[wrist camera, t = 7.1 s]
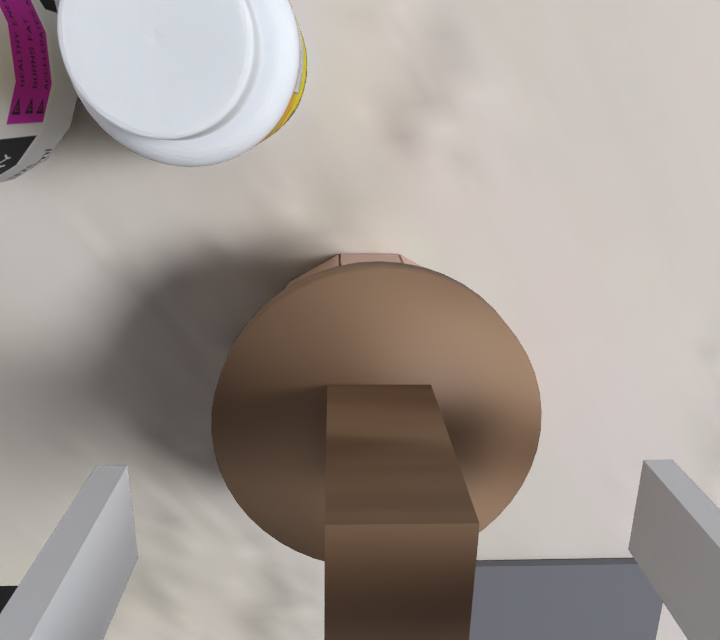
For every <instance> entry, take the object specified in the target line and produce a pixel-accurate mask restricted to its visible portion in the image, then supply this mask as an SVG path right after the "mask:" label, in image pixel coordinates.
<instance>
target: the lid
mask: <svg viewBox="0 0 720 640" xmlns="http://www.w3.org/2000/svg"><path fill="white" fill-rule="evenodd" d="M540 431H541V401H540V392H539V388H538V384H537V380H536V376H535V372H534V370H533V368H532V365H531V363H530V360H529V358H528V355H527V354H526V352H525V350H524V349H523V347H522V345H521V344H520V342H519V340H518V339H517V337H516V336H515V334H514V333H513V332H512V331H511V329H510V328H509V327H508V325H507V324H506V323H505V322H504V321H503V319H502V318H501V317H500V316H499V314H498V313H497V312H496V311H495V310H494V309H493V308H492V307H491V306H490V305H489V304H488V303H487V302H486V301H485V300H484V299H483V298H482V297H480V296H479V295H478V294H476V293H475V292H474V291H472V290H471V289H469V288H468V287H466V286H465V285H463V284H462V283H460V282H458V281H456V280H454V279H452V278H450V277H448V276H446V275H444V274H441V273H439V272H436V271H433V270H430V269H427V268H424V267H420V266H415V265H410V264H405V263H398V262H384V261H374V262H357V263H352V264H346V265H341V266H336V267H333V268H330V269H327V270H323V271H320V272H317V273H314V274H312V275H310V276H308V277H306V278H304V279H302V280H300V281H297V282H295V283H294V284H292V285H291V286H289V287H288V288H286V289H284V290H283V291H281V292H280V293H278V294H277V295H276V296H274V297H273V298H272V299H271V300H270V301H269V302H267V303H266V304H265V305H264V306H263V307H261V308H260V310H259V311H258V312H257V313H256V314H255V315H254V316H253V317H252V318H251V320H250V321H249V322H248V323H247V324H246V326H245V327H244V329H243V330H242V332H241V333H240V335H239V336H238V338H237V339H236V341H235V343H234V345H233V347H232V349H231V351H230V353H229V355H228V357H227V360H226V362H225V365H224V367H223V369H222V372H221V375H220V378H219V381H218V384H217V387H216V391H215V395H214V401H213V408H212V439H213V446H214V452H215V456H216V459H217V463H218V466H219V470H220V472H221V474H222V476H223V478H224V481H225V483H226V485H227V487H228V489H229V490H230V492H231V494H232V495H233V497H234V498H235V500H236V502H237V503H238V504H239V506H240V507H241V508H242V509H243V510H244V511H245V513H246V514H247V515H248V516H249V517H250V518H251V519H252V520H253V521H254V522H255V523H256V524H257V525H258V526H259V527H260V528H261V529H262V530H264V531H265V532H266V533H268V534H269V535H270V536H272V537H273V538H275V539H276V540H278V541H279V542H281V543H282V544H284V545H286V546H288V547H290V548H292V549H293V550H295V551H297V552H300V553H302V554H305V555H307V556H310V557H312V558H315V559H318V560H322V561H325V640H469V634H470V623H471V612H472V601H473V590H474V579H475V568H476V557H477V546H478V535H479V532H480V531H482V530H483V529H484V528H486V527H487V526H488V525H489V524H490V523H491V522H492V521H493V520H494V519H496V518H497V517H498V516H499V515H500V514H501V512H502V511H503V510H504V509H505V508H506V507H507V506H508V504H509V503H510V502H511V501H512V499H513V498H514V496H515V495H516V494H517V492H518V491H519V489H520V488H521V486H522V484H523V482H524V480H525V478H526V476H527V474H528V472H529V470H530V468H531V466H532V463H533V460H534V457H535V454H536V451H537V447H538V442H539V436H540Z"/></svg>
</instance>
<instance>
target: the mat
mask: <svg viewBox="0 0 720 640" xmlns="http://www.w3.org/2000/svg"><path fill="white" fill-rule="evenodd" d="M662 604H663V601H662V600H661V598H660V597H659V595H658V594H657V592H656V591H655V589H654V588H653V586H652V585H651V583H650V581H649V580H648V578H647V577H646V575H645V574H644V572H643V571H642V569H641V568H640V566H639V565H638V563H637V562H636V560H635V559H634V558H619V559H559V560H500V561H476V568H475V579H474V590H473V601H472V612H471V623H470V634H469V640H655V639H656V634H657V629H658V624H659V619H660V614H661V609H662Z"/></svg>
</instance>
